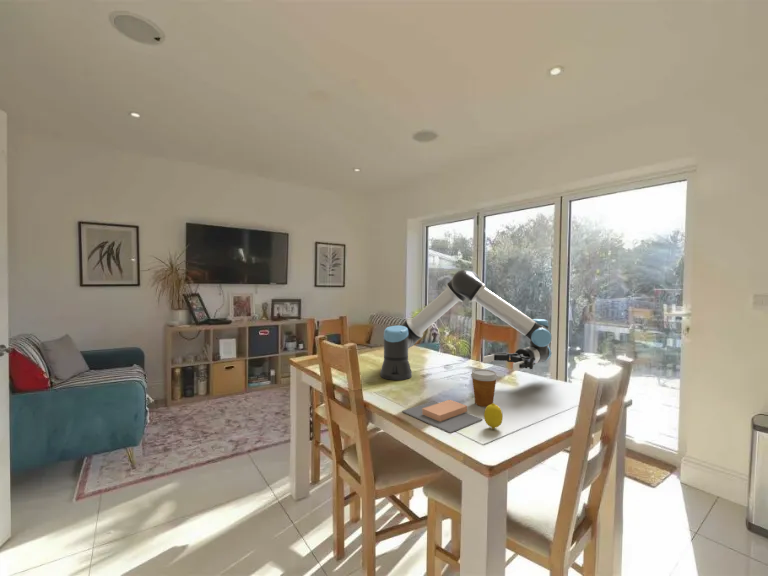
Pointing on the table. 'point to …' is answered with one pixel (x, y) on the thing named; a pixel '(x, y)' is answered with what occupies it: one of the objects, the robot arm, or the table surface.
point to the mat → (446, 425)
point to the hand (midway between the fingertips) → (498, 363)
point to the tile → (444, 410)
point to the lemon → (493, 416)
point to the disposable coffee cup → (484, 386)
